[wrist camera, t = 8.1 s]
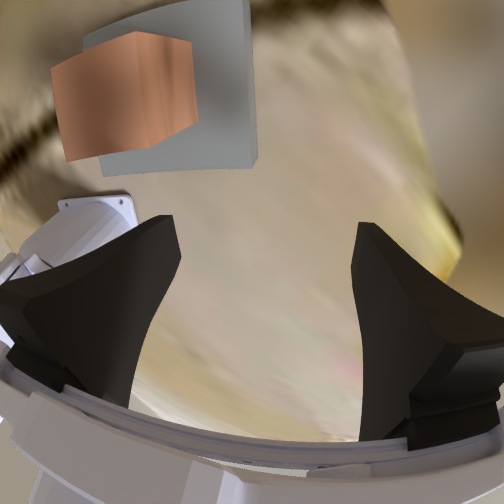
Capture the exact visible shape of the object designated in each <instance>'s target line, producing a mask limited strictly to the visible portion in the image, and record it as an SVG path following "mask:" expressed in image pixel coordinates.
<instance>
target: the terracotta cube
mask: <svg viewBox="0 0 504 504" xmlns="http://www.w3.org/2000/svg"><path fill="white" fill-rule="evenodd" d="M51 78H52V86H53V94H54V101H55V108H56V114H57V119H58V125H59V130H60V135H61V140H62V144H63V149H64V153H65V157H66V161H67V162H70V161H75V160H79V159H84V158H89V157H94V156H100V155H105V154H111V153H117V152H124V151H130V150H137V149H145V148H150V147H152V146H154V145H155V144H157V143H159V142H161V141H162V140H164V139H166V138H168V137H170V136H172V135H173V134H175V133H177V132H179V131H181V130H183V129H185V128H187V127H189V126H191V125H193V124H195V123H197V122H199V120H198V110H197V100H196V90H195V79H194V68H193V56H192V43H191V42H189V41H185V40H180V39H176V38H171V37H167V36H162V35H156V34H151V33H145V32H138V31H135V32H132V33H129V34H126V35H123V36H120V37H117V38H115V39H112V40H110V41H107V42H105V43H102V44H100V45H97V46H95V47H93V48H90V49H88V50H86V51H84V52H81V53H79V54H77V55H75V56H73V57H71V58H69V59H67V60H65V61H63V62H61V63H59V64H57V65H56V66H54V67H52V68H51Z"/></svg>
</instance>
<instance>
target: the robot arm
mask: <svg viewBox="0 0 504 504" xmlns="http://www.w3.org/2000/svg"><path fill="white" fill-rule="evenodd" d="M120 199H121V200H122V201H123V202H121V200H120ZM58 208H59V212H58V213H57V214H55V215H54V216H53V217H52V218H50V219H49V220H48V221H47V222H46V223H45V224H43V225H42V226H41V227H40V228H39V229H38V230H36V231H35V232H34V233H33V234H32V235H31V236H30V237H29V238H28V239H26V240H25V242H24V243H23V244H22V246H21V247H20V249H19V252H18V253H17V254H16V253H11V252H10V253H9V254H8V255H7V256H6V257H5V258H4V259H3V260H2V261H1V262H0V423H1V422H2V420H3V419H4V420H5V421H6V422H7V423H8V424H9V425H10V426H11V427H12V428H13V431H12V434H11V436H10V439H11V442H12V444H13V445H14V446H15V447H16V448H17V449H18V450H19V451H20V452H21V453H22V454H23V455H24V456H26V457H27V458H28V459H29V460H30V461H32V462H33V463H34V464H36V465H37V466H38V467H40V471H39V473H38V476H37V479H36V481H35V484H34V487H33V490H32V493H31V495H30V498H29V501H28V504H467V503H469V502H471V501H473V500H475V499H477V498H480V497H482V496H484V495H486V494H488V493H490V492H492V491H494V490H496V489H498V488H499V487H501V486H503V485H504V406H503V407H502V408H500V409H497V405H496V401H498V400H499V399H500V396H501V395H500V392H499V387H500V386H501V385H502V384H503V383H504V317H501V316H499V315H497V314H495V313H493V312H491V311H489V310H487V309H485V308H483V307H481V306H480V305H478V304H476V303H474V302H473V301H471V300H469V299H468V298H466V297H464V296H463V295H461V294H460V293H458V292H457V291H455V290H454V289H452V288H450V287H449V286H448V285H446V284H445V283H443V282H442V281H441V280H439V279H438V278H437V277H435V276H434V275H433V274H431V273H430V272H429V271H428V270H426V269H425V268H424V267H423V266H422V265H420V264H419V263H418V262H417V261H416V260H415V259H413V258H412V257H411V256H410V255H409V254H408V253H407V252H406V251H405V250H403V249H402V248H401V247H400V246H399V245H398V244H397V243H396V242H395V241H394V240H393V239H392V238H391V237H390V236H389V235H388V234H386V233H385V232H384V231H383V230H382V229H381V228H380V227H379V226H378V225H376V224H375V223H369V222H359V223H358V229H357V235H356V241H355V247H354V252H353V257H352V263H351V275H352V288H353V293H354V298H355V304H356V309H357V314H358V319H359V325H360V331H361V337H362V346H363V401H362V416H361V425H360V434H359V442H294V441H280V440H268V439H259V438H251V437H243V436H236V435H230V434H224V433H218V432H213V431H208V430H203V429H198V428H194V427H189V426H185V425H181V424H177V423H173V422H169V421H165V420H162V419H158V418H155V417H151V416H148V415H145V414H142V413H138V412H135V411H132V410H129V409H128V405H129V399H130V393H131V387H132V383H133V378H134V374H135V370H136V366H137V362H138V359H139V355H140V352H141V348H142V345H143V342H144V339H145V337H146V334H147V331H148V328H149V326H150V323H151V321H152V319H153V317H154V315H155V313H156V311H157V309H158V307H159V305H160V303H161V301H162V299H163V298H164V296H165V294H166V292H167V290H168V288H169V286H170V284H171V282H172V280H173V278H174V276H175V274H176V271H177V268H178V266H179V263H180V260H181V252H180V248H179V244H178V239H177V235H176V230H175V225H174V221H173V216H172V215H158V216H155V217H153V218H151V219H149V220H147V221H145V222H143V223H141V224H139V225H138V221H137V217H136V214H135V210H134V206H133V202H132V199H131V197H130V196H129V195H109V196H95V197H83V198H71V199H61V200H59V201H58ZM196 455H197V456H196ZM199 456H201V457H206V458H211V459H216V460H221V461H227V462H233V463H239V464H246V465H253V466H262V467H271V468H283V469H303V470H309V471H308V472H307V476H306V477H296V476H286V475H278V474H270V473H264V472H257V471H252V470H246V469H241V468H235V467H231V466H226V465H222V464H219V463H216V462H213V461H210V460H207V459H204V458H201V457H199Z"/></svg>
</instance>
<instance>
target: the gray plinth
mask: <svg viewBox="0 0 504 504" xmlns="http://www.w3.org/2000/svg"><path fill="white" fill-rule="evenodd" d="M135 31H138V32H145V33H151V34H156V35H162V36H167V37H171V38H176V39H180V40H185V41H189V42H191V43H192V56H193V68H194V79H195V90H196V100H197V110H198V120H199V122H197V123H195V124H193V125H191V126H189V127H187V128H185V129H183V130H181V131H179V132H177V133H175V134H173V135H172V136H170V137H168V138H166V139H164V140H162V141H161V142H159V143H157V144H155V145H154V146H152V147H150V148H145V149H137V150H130V151H124V152H117V153H111V154H105V155H100V156H98V157H99V161H100V165H101V170H102V174H103V177H107V176H117V175H126V174H137V173H149V172H163V171H180V170H203V169H252V168H253V166H254V164H255V162H256V160H257V158H258V147H257V126H256V106H255V87H254V69H253V51H252V34H251V17H250V2H249V1H248V0H186V1H182V2H177V3H173V4H169V5H166V6H162V7H158V8H155V9H152V10H148V11H145V12H142V13H139V14H136V15H133V16H130V17H128V18H125V19H122V20H119V21H117V22H114V23H112V24H109V25H107V26H105V27H102V28H100V29H98V30H95V31H93V32H91V33H89V34H87V35H85V36H82V43H83V52H84V51H86V50H88V49H90V48H93V47H95V46H97V45H100V44H102V43H105V42H107V41H110V40H112V39H115V38H117V37H120V36H123V35H126V34H129V33H132V32H135Z"/></svg>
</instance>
